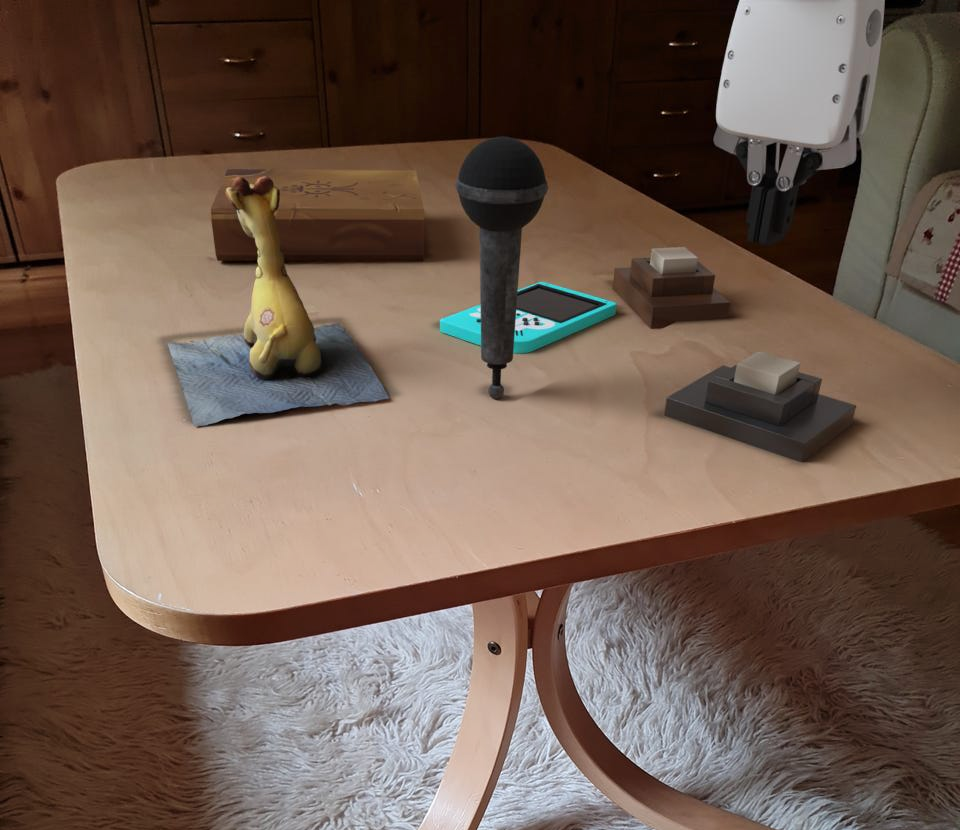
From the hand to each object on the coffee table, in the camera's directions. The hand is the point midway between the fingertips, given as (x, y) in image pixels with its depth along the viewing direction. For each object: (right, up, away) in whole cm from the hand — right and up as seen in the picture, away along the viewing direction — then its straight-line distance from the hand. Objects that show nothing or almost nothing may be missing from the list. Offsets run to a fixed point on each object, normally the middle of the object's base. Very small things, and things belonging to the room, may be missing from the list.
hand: (765, 240), depth 77 cm
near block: (0, -13, +4) cm, 14 cm away
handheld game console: (-17, 0, +22) cm, 28 cm away
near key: (0, -11, +2) cm, 11 cm away
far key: (-3, +6, +24) cm, 25 cm away
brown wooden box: (-41, +17, +43) cm, 61 cm away
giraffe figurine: (-40, -7, +11) cm, 42 cm away
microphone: (-21, -10, +8) cm, 24 cm away
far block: (-3, +4, +26) cm, 27 cm away
